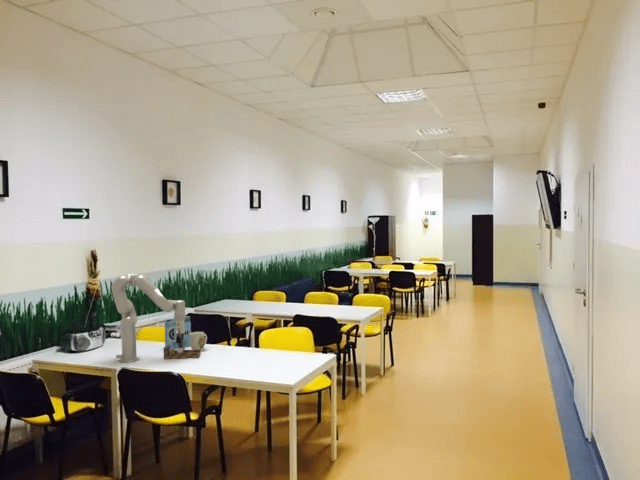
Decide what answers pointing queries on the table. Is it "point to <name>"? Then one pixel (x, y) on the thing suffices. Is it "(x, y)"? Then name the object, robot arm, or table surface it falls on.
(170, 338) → the gum box
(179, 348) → the jaw
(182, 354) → the bench
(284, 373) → the table surface
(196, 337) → the pitcher
